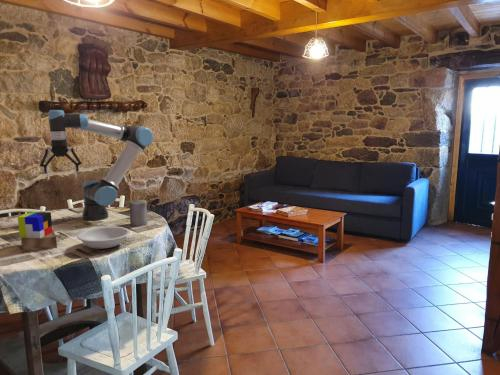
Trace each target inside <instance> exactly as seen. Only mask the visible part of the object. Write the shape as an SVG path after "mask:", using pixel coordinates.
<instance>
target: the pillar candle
mask: <svg viewBox="0 0 500 375" xmlns="http://www.w3.org/2000/svg"><path fill="white" fill-rule="evenodd" d="M128 202H129V204H128V205H129V221H130V226H131V227H143V226H142V225H144V226H146V225H145V224H147V225H148V206H147V205H148V204H147V200H146V199H145V200H144V199H134V200H130V201H128Z"/></svg>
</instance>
